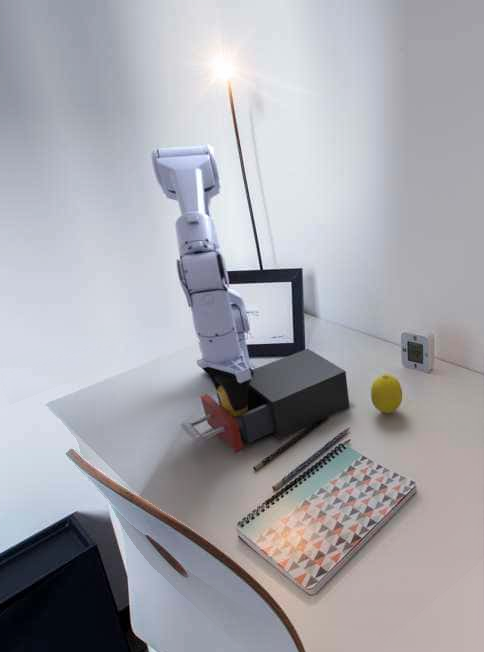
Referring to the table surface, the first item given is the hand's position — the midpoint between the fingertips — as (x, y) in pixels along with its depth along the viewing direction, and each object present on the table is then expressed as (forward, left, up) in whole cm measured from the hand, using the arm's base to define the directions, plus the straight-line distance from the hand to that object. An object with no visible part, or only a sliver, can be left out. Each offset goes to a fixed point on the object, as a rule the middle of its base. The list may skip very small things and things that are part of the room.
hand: (234, 402), depth 88 cm
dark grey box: (0, +11, -6) cm, 13 cm away
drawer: (0, +1, -6) cm, 6 cm away
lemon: (+13, +22, -7) cm, 27 cm away
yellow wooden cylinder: (0, 0, -1) cm, 1 cm away
